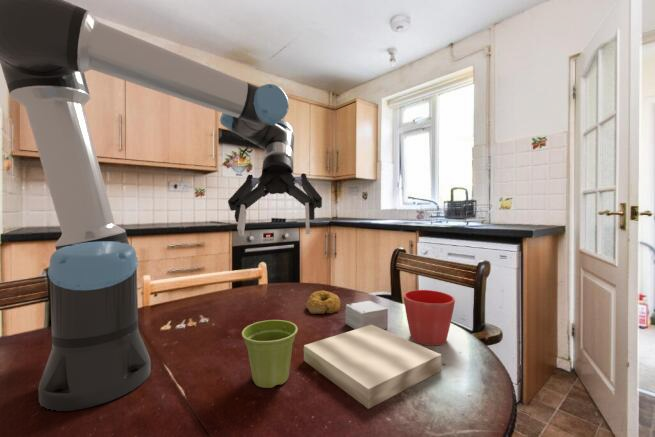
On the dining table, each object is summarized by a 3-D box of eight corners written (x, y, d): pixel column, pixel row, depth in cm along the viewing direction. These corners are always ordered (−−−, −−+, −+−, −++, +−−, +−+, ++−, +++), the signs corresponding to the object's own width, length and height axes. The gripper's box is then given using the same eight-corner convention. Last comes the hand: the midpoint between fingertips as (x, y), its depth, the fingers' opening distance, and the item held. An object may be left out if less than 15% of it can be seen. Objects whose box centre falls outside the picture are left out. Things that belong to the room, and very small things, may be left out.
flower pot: (449, 353, 63) (449, 306, 63) (396, 341, 69) (397, 298, 68) (458, 335, 72) (458, 293, 72) (411, 326, 78) (411, 287, 77)
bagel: (298, 311, 89) (298, 295, 89) (319, 302, 98) (319, 287, 98) (327, 318, 84) (328, 301, 84) (347, 308, 93) (347, 292, 93)
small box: (388, 329, 76) (388, 308, 76) (361, 335, 73) (361, 313, 73) (370, 318, 83) (370, 299, 83) (344, 324, 80) (344, 304, 80)
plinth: (368, 408, 46) (368, 388, 46) (303, 360, 60) (303, 345, 60) (441, 370, 56) (441, 354, 56) (371, 337, 71) (371, 324, 71)
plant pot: (287, 398, 49) (287, 343, 48) (232, 391, 50) (231, 338, 50) (304, 367, 58) (303, 321, 57) (256, 363, 60) (256, 318, 59)
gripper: (328, 175, 81) (334, 240, 67) (230, 177, 79) (216, 244, 65) (328, 151, 75) (336, 216, 61) (223, 153, 74) (206, 221, 60)
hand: (274, 231), depth 63 cm, fingers open, 13 cm apart
